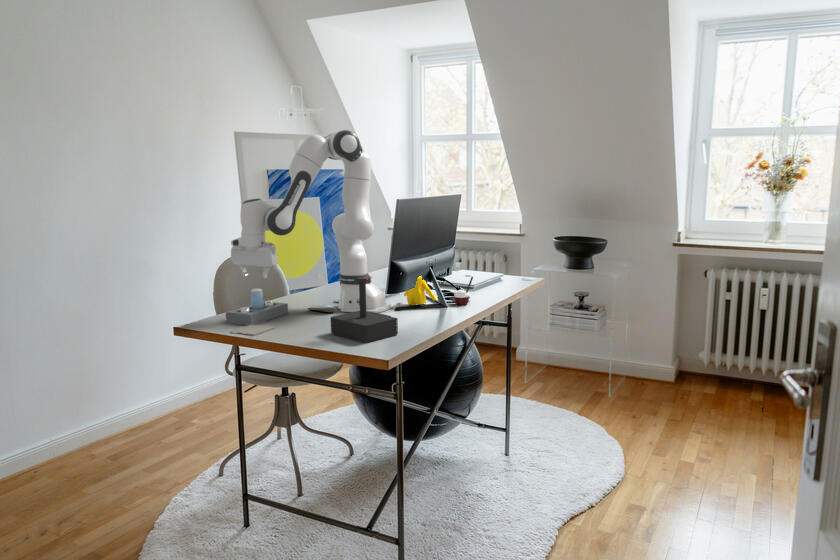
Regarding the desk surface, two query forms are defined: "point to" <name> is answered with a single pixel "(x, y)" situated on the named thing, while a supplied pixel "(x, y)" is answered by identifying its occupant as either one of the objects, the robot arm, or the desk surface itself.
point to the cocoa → (462, 296)
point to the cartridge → (257, 299)
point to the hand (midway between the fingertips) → (254, 277)
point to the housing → (257, 314)
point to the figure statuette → (419, 293)
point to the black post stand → (364, 321)
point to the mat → (253, 329)
